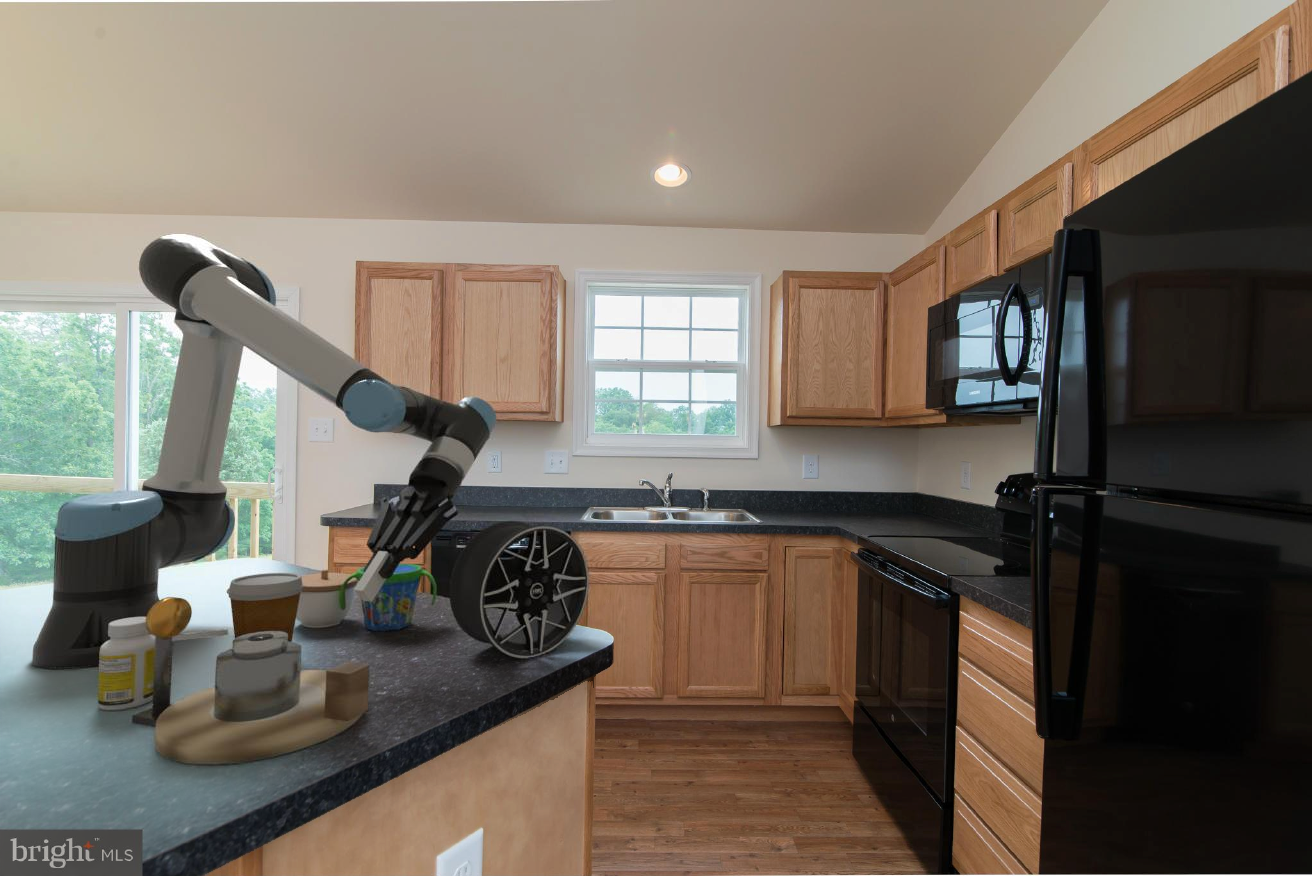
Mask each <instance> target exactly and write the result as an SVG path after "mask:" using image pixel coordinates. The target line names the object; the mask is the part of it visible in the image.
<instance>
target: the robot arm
mask: <svg viewBox="0 0 1312 876" xmlns="http://www.w3.org/2000/svg"><path fill="white" fill-rule="evenodd" d="M138 263H139V264H138V271H139V276H140V279H141V280H142V283H143V285H144V286H145V288H146V289H147V290H148V291H149V293H150V294H152V296H154V297H155V298H156V299H158V300H160V302H163V303H165V304H167V305H168V306H170V307H171V308H174V310H175V316H174V320H173V323H174V324H175V325H176V326H177V328H178V329H179V330H180V331H181V332H182V339H181V345H180V350H179V355H178V361H177V366H176V370H175V371H176V372H175V375H174V376H175V377H174V381H173V386H172V392H171V398H170V403H169V407H168V411H167V412H168V414H167V417H166V423H165V428H164V435H163V439H162V442H161V450H160V455H159V460H158V464H157V465H158V466H157V471H156V473H154V475H152V476H151V477H148V478H147V479H145V480H144V481H143V482H142V487H141V490H122V491H121V490H119V491H112V492H111V491H110V492H100V493H99V492H98V493H92V494H87V495H81V496H78V497H75V498H72V499H71V498H70V499H69V500H66V502H64V503H62V505H61V506H60V507H59V509H58V511H57V512H58V513H57V518H56V520H57V521H56V525H55V526H54V530H53V531H54V533H53V535H55V536H54V560H53V561H54V562H53V563H54V564H53V565H54V567H53V587H52V589H53V593H52V604H51V608H50V610H49V612H48V614H47V617H46V619H45V620H44V623H43V625H42V627H41V630H40V632H39V634H38V637H37V638H36V641H35V643H34V645H33V648H32V658H31V661H32V663H31V664H33V665H34V666H35V667H38V668H45V669H78V668H88V667H95V666H99V654H100V648H101V646H102V645H103V644H104V643H105V642H107V641H108V640H110V639H111V637H109V636H108V625H109V623H111V622H113V621H116V620H120V619H125V618H131V617H147V614H148V612H149V610H150V609H151V607H152V606H153V605H154V604H155V603H156V602H158V601H159V600H160V597H159V593H158V592H159V590H158V588H159V587H158V586H159V570H161V569H165V568H168V567H171V566H176V565H177V566H178V565H181V564H188V563H194V562H197V561H199V560H201V559H203V558H207V557H208V556H211V555H212V554H215V553H217V552H218V551H219V550H221V549H222V548H223V547H224V546H225V545H226V544H227V542H228V541H229V540H230V538H232V537H231V536H232V535H233V532H234V529H235V525H236V524H235V522H236V517H235V512H234V509H233V508H231V507H230V506H231V505H230V502H228V501H227V499H226V497H227V492H228V488H227V486H225V484H223V482H222V481H221V480H220V473H221V469H222V468H221V467H222V463H223V457H224V453H225V446H226V441H227V437H228V431H229V426H230V420H231V415H232V409H233V404H234V399H235V393H236V388H237V383H238V376H239V372H240V367H241V362H242V356H243V351H244V347H246V348H247V349H248V350H250V351H252V352H253V353H254V354H256V355H258V356H259V357H260V358H262V359H264V360H265V361H267V362H268V363H269V364H271V365H272V366H274V367H276V368H277V369H279V370H280V371H282V372H284V373H285V374H286V375H288V376H289V377H291V378H293V379H294V380H295V381H297V382H298V383H300V384H302V385H303V386H305V387H306V388H307V389H309V390H311V391H312V392H313V393H315V394H316V395H319V396H320V397H322V398H323V399H324V400H326V401H328V402H329V403H330V404H332V405H333V406H335V407H337V408H338V409H339V410H341V411H342V412H343V413H344V414H345V417H346V418H347V420H348V421H349V422H350V423H351V424H352V425H353V426H355V427H356V428H359V429H362V430H364V431H367V432H370V433H393V434H404V435H405V434H406V435H410V436H412V437H415V438H418V439H422V440H425V441H428V442H430V445H429V447H428V448H427V450H426V451H425V453H424V454H423V455H422V457H421V459H420V460H419V461H418V463H417V464H416V466H415V467H414V469H413V470H412V472H411V473H410V474H409V478H408V484H407V486H406V487H405V488H404V489H402V490H401V491H400V492H399V494H398V496H395V497H392V498H391V499H390V498H389V496H388V495H387V496H384V497H382V498H381V500H380V503H381V504H380V505H381V507H380V511H379V512H378V515H377V517H376V520H375V522H374V525H373V528H372V529H371V532H370V534H369V537H368V539H367V541H366V546H367V548H368V549H369V550H370V552H371V553H372V554H371V555H372V556H371V557H370V559H368V562H367V563H366V565H365V566H364V567H365V568H364V572H365V573H364V574H363V576H362V578H361V579H360V581H358V583H357V585H356V587H355V588H354V591H355V592H356V595H358V597H359V598H360V600H361V599H362V600H363V601H370V602H372V601H373V600H374V598H375V596H376V595H377V593H378V591H379V590H380V588H381V587H382V585H383V583H384V582H385V580H386V579H389V578H390V577H391V576H392V575H393V573H394V571H395V570H396V568H397V566H398V565H399V564H401V563H402V562H403V561H405V560H406V559H410V560H415V559H417V558H418V556H420V554H421V553H422V552H423V551H424V550H425V549H426V548H427V546H428V545H429V544H430V543H431V541H432V540H433V539H434V538H435V537H436V536H437V534H439V532H440V531H441V530H442V529H443V527H444V526H445V525H446V524H447V523H448V522H450V521H451V520H452V519H453V518H455V517H456V516H458V514H459V511H458V509H457V508H456V506H455V503H454V502H453V501H452V500H453V499H454V497H455V495H456V494H457V492H458V491H459V489H460V487H461V485H462V483H463V481H464V480H465V478H466V476H467V475H468V473H469V472H470V471H471V470H470V469H471V468H472V466H473V465H474V463H475V461H476V459H477V458H478V456H479V454H480V452H481V451H482V449H483V448H484V447H485V444H486V443H487V441H489V439H490V437H491V433H492V432H493V429H494V427H495V426H496V423H497V420H498V418H497V414H496V412H495V409H494V408H493V406H492V405H490V403H489V402H488V401H486V400H484V399H483V398H480V397H477V396H472V397H469V396H466V397H464V398H461V400H460V401H458V402H457V404H455V403H452V402H448V401H444V400H441V399H438V398H436V397H433V396H431V395H427V394H426V393H425V394H424V393H422V392H420V391H416V390H414V389H411V388H410V387H406V386H402V385H398V384H397V385H396V384H394V383H391V382H390V381H388V380H386V379H385V378H384V377H382V376H381V375H379V374H378V373H376V372H374V371H372V370H371V369H370V368H368V367H367V366H366V365H364V364H362V363H361V362H360V361H358V360H357V359H355V358H353V357H352V356H350V355H349V354H347V353H346V352H344V351H343V350H342V349H340V348H338V347H337V346H335V345H334V344H332V343H331V342H329V341H327V339H325V338H323V337H322V336H321V335H319V334H317V332H315V331H313V330H311V329H309V328H308V327H307V326H306V325H304V324H302V323H301V322H300V321H298V320H297V319H295V318H293V317H292V316H290V315H289V314H288V313H286V312H284V311H283V310H282V309H280V308H278V307H277V306H276V305H277V297H276V291H275V286H274V285H273V283H272V281H271V279H270V278H269V277H268V275H266V273H264V271H262V270H261V269H260V268H258V267H257V266H255V264H253V263H252V262H250V261H249V260H246V259H245V258H243V257H242V258H241V257H239V256H236V255H234V254H233V253H230V252H228V251H226V250H224V249H222V248H220V247H218V246H216V245H214V244H212V243H211V242H208V241H206V239H205V240H204V239H203V238H199V237H196V236H193V235H188V234H168V235H165V236H160V237H158V238H156V239H154V240H153V241H151V242H150V243H149V244H148V245H147V246H146V247H145V248H144V250H143V251H142V253H141V255H140V258H139V261H138ZM149 634H150V633H149ZM150 635H151V634H150Z"/></svg>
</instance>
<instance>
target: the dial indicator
mask: <svg viewBox="0 0 1312 876" xmlns="http://www.w3.org/2000/svg"><path fill="white" fill-rule="evenodd" d="M192 609H193V608H192V606H191V604H190V602H189V601H188V600H187V599H185V598H181V597H174V596H168V597H164V598H161V599H159V601H158V602H156V603H155V604H154V605H153V606H152V607H151V609H150V610H149V612H148V614H147V617H146V628H147V630H148V632H149V633H150V634H151V635H153V636H155V658H154V680H153V700H152V701H151V703H152V704H151V705H152V706H151V708H148V709H145V710H142V711H140V712H137V713H135V714H132V715H131V723H133V724H138V725H143V726H148V727H153V728H156V721H157V719H158V717H159V716H160V714H161V713H162V712H163V711H164V710H166V709H167V708H168V707H170V706H171V705H172V704H173V703H171V699H172V698H171V695H172V676H173V675H172V673H173V650H174V642H176V641H183V640H184V641H185V640H192V639H193V640H194V639H202V638H209V637H211V638H212V637H218V636H226V635H227V636H228V635H229V628H219V629H212V630H211V629H210V630H201V631H195V632H194V631H193V632H183V631H184V630H185V629H186V628H187V626H188V625H189V624H190V621H191V619H192V614H193V612H192V611H193V610H192ZM182 632H183V633H182Z"/></svg>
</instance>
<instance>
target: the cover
mask: <svg viewBox="0 0 1312 876" xmlns="http://www.w3.org/2000/svg"><path fill="white" fill-rule="evenodd" d="M301 667H302V645H301V644H299V643H297V642H293V641H292V642H288V634H287V633H285V632H281V631H263V632H255V633H250V634H246V635H242V636H239V637H237V638H233V639H232V647H231V648H229V649H227V650H224V651H221V652H220V653H218V655H217V656H216V658H215V678H214V686H215V698H214V717H215V718H216V719H218V720H221V721H226V722H246V721H254V720H260V719H265V718H269V717H272V716H275V715H278V714H281V713H284V712H286V711H288V710H290V709H292V708H293V707H295V706H296V705H297V704H298V702H299V697H300V672H301V670H302V668H301Z"/></svg>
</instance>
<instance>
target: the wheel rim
mask: <svg viewBox="0 0 1312 876" xmlns="http://www.w3.org/2000/svg"><path fill="white" fill-rule="evenodd" d="M524 539H528V544H527V547H526V550H525V551H524V552H525V553H524V555H521V554H518V553H516V552H513V551H512V550H510V549H509V548H511V546H513V545H515V543H517V542H520V541H522V540H524ZM536 542H539V543H540V544H539V545H540V546H539V547H540V549H539V558H538V559H536V560H532V559H533V556H534V552H535V548H536ZM504 553H505V554H508V555H510V556H513V557H515V558H517V559H520V560H521V561H520V562H519V564H518V566H517V567H516V571H517V572H519V575H516V574H511V575H510V576H508V575H507V573H506V570H505V567H504V565H503V563H502V561H501V558H500V557H501V556H502V555H503V554H504ZM549 561H550V563H549ZM496 563H497V566H498V568H499V571H500V573H501V576H502V578H503V580H504V581H502V582H501V583H500V584H498V585H496V586H494V587H491V588H487V586H488V582H489V578H490V575H491V573H492V570H493V568H494V567H495V565H496ZM550 566H551V568H549V567H550ZM589 577H590V576H589V568H588V563H587V558H586V556H585V554H584V552H583V549H582V547H581V546H580V545H579V543H578V542H577V540H575V538H574V537H573V536H571V535H570V534H569V533H567V531H565V530H564V529H563V530H562V529H561V528H558V527H555V526H549V525H543V524H542V525H539V524H538V525H531V524H528V523H526V522H522V521H516V520H506V521H500V522H497V523H493V524H491V525H488V527H485V528H483V529H482V530H480V532H478V533H476V534H475V535H474V536H473V537H472V538H471V539H470V540H469V542H467V543H466V545H465V546H464V547H463V549H462V550H461V552H460V553H459V556H458V557H457V559H456V561H455V564H454V566H453V570H452V573H451V577H450V581H449V582H450V583H449V596H448V597H449V601H450V602H449V603H450V608H451V611H452V615H453V617H454V619H455V621H456V623H457V625H458V626H459V628H461V630H462V631H463V633H464V634H466V635H467V636H468V637H470V638H472V639H474V640H475V641H478V642H481V643H484V644H489V645H491V646H492V647H493V648H494V649H496V650H498V652H501V653H502V654H505V655H507V656H509V657H513V658H515V659H524V658H525V659H529V658H528V657H531V656H535V655H539V654H541V653H546V652H548V653H549V652H551V651H553V650H554V649H556V648H557V647H558V646H559V645H561V644H562V643H563V642H564V641H565V640H566V639H567V638H568V636H570V634H572V632H573V631H574V629H575V627H576V626H577V625H578V623H579V621H580V619H581V617H582V614H583V612H584V609H585V606H586V602H587V598H588V594H589V588H590V579H589ZM506 590H507V592H508V595H507V596H508V597H507V600H506V601H495V602H486V596H487V597H488V596H491V595H495V594H500V593H502V592H504V591H506ZM487 609H501V610H502V613H501V615H500V617H499V620H498V623H497V624H496V626H495V628H494V627H493V625H492V624H491V622H490V619H489V617H488V615H487V611H486V610H487ZM508 611H511V612H515V617H516V619H517V621H518V623H519V626H517V627H516V628H515V629H513V630H511V632H509V633H504V634H499V633H500V630H501V628H502V625H503V623H504V621H505V619H506V616H507V615H508ZM529 615H530V616H529ZM546 654H547V653H546Z"/></svg>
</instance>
